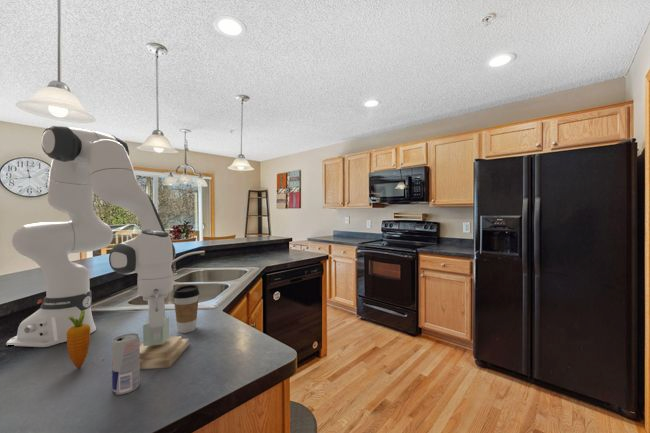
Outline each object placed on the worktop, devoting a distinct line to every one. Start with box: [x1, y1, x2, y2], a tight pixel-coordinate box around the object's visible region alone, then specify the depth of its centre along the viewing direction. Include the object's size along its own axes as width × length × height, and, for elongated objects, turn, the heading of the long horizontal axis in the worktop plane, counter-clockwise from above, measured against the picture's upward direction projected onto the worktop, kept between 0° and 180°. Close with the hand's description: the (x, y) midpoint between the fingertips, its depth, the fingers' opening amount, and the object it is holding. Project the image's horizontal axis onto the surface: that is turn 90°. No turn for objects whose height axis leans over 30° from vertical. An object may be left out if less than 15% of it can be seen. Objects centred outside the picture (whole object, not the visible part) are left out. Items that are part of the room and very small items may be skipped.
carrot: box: [66, 311, 91, 369], centre depth 75 cm, size 5×5×15 cm
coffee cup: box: [172, 284, 200, 334], centre depth 100 cm, size 8×8×15 cm
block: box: [142, 316, 170, 346], centre depth 81 cm, size 5×5×6 cm
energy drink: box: [111, 333, 141, 396], centre depth 66 cm, size 5×5×12 cm
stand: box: [140, 335, 190, 370], centre depth 81 cm, size 13×13×4 cm
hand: (156, 333), depth 81 cm, fingers closed on block, 6 cm apart
